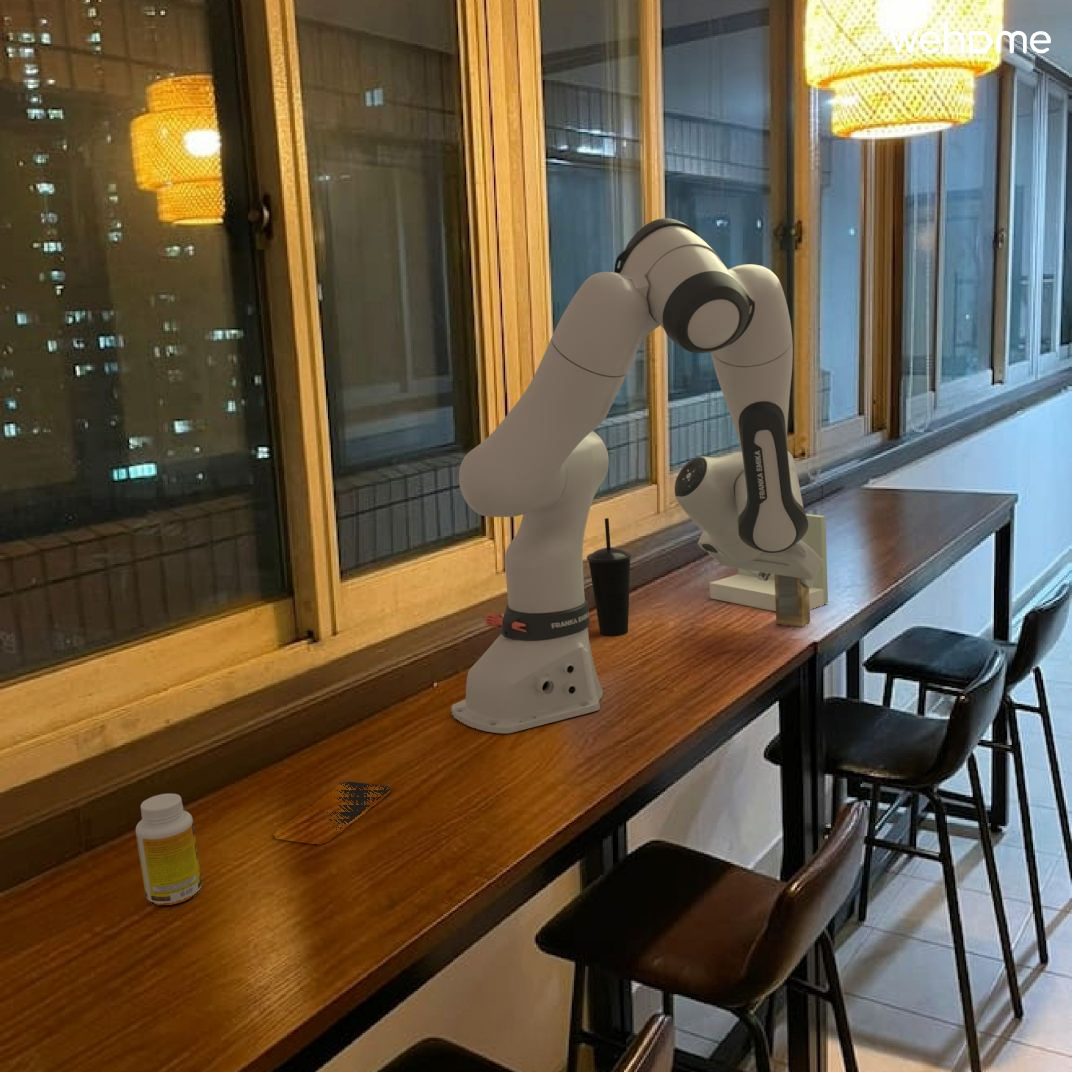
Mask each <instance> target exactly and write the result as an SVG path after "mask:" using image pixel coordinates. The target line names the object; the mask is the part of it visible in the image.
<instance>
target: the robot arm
mask: <svg viewBox="0 0 1072 1072" xmlns="http://www.w3.org/2000/svg"><path fill="white" fill-rule="evenodd" d="M618 266H619V267H618ZM567 305H568V306H567V307H566V309H565V310H564V312H563V314H562V315H561V317H560V319H559V321H558V322H557V326H556V327H555V330H554V331H553V334H552V336H551V338H550V339H549V343H548V345H547V347H546V350H545V352H544V354H543V356H542V358H541V361H540V363H539V364H538V367H537V368H536V371H535V373H534V375H533V378H532V380H531V381H530V383H529V385H528V386H527V388H526V389H525V391H524V393H523V394H522V395H521V396H520V398H519V400H517V402H516V403H515V404H514V406H513V407H512V408H511V409H510V411H509V412H508V414H507V415H505V417H504V418H503V420H502V421H501V422H500V423H499V425H498V426H496V428H495V429H494V430H493V431H492V432H491V433H490V435H488V437H486V438H485V439H484V440H482V442H480V443H479V444H478V445H477V446H475V447H474V448H473V449H471V450H470V451H468V452H467V454H466V455H465V456H464V457H463V459H462V461H461V463H460V467H459V472H458V473H459V474H458V484H459V489H460V492H461V495H462V497H463V499H464V501H465V502H466V504H467V505H468V507H469V508H470V509H471V510H473V511H474V512H475V513H477V514H478V515H479V516H484V517H487V518H488V517H491V518H513V517H515V518H516V517H518V516H522V517H521V520H520V524H519V528H518V530H517V532H516V534H515V536H514V538H513V539H512V540H511V541H510V543H509V545H508V546H507V548H506V550H505V554H504V570H505V580H506V583H505V584H506V591H507V592H506V593H507V594H506V595H507V605H506V606H505V611H504V614H503V616H502V614H500V613H496V612H493V611H491V612H489V613H487V614H486V616H485V620H484V622H485V624H486V625H487V626H488V627H491V628H492V627H494V628H495V629H499V628H500V629H499V633H500V635H498V637H497V638H496V639H495V640H494V641H493V642H492V644H491V645H490V646H489V647H488V648H487V650H486V651H485V652H484V653H483V654H482V655H481V656H480V657H479V659H478V660H477V661H476V662H475V663H474V664H473V666H471V667H470V669H469V670H468V673H467V677H466V683H465V684H466V685H465V699H462V700H460V701H458V702H456V703H453V704H452V705H451V706H450V707H451V712H452V713H451V716H452V715H453V716H454V717H453V716H452V717H453V719H455V718H456V719H457V720H459V721H460V722H459V721H458V722H459V723H461V722H463V723H464V724H463V723H462V724H463V725H465V724H466V725H465V726H468V727H470V728H473V729H475V728H476V730H480V731H483V732H487V733H488V732H489V733H495V734H512V733H515V732H519V731H520V732H521V731H524V730H527V729H531V728H535V727H539V726H544V725H546V724H550V723H555V722H559V721H562V720H567V719H569V718H574V717H578V716H582V715H585V714H588V713H589V714H590V713H593V712H596V711H599V710H600V709H601V704H600V700H601V698H602V697H603V695H604V691H603V688H602V685H601V684H600V680H599V678H598V674H597V671H596V667H595V663H594V659H593V654H592V647H591V642H590V636H589V626H590V623H591V620H590V611H589V610H590V609H589V601H588V599H587V598H585V596H586V595H585V583H584V582H585V579H584V559H583V558H584V556H583V552H584V551H583V549H584V538H585V532H586V527H587V522H588V518H589V514H590V511H591V510H590V509H591V507H592V504H593V501H594V498H595V496H596V493H597V491H598V490H599V488H600V487H601V485H602V484H603V482H604V481H605V480H606V477H607V475H608V472H609V466H610V464H609V463H610V459H609V457H610V456H609V453H608V449H607V447H606V445H605V443H604V441H603V440H602V438H601V436H599V435H598V434H597V433H596V432H595V430H596V429H597V428H598V427H599V426H600V425H601V424H602V423H603V422H604V421H605V419H606V417H608V416H607V415H608V414H609V411H610V410H611V408H612V406H613V404H614V402H615V400H616V397H617V396H618V393H619V391H620V390H621V388H622V385H623V383H624V381H625V380H626V377H627V375H628V373H629V371H630V369H631V367H632V364H633V362H634V360H635V358H636V355H637V353H638V350H639V347H640V346H641V345H642V344H643V341H644V340H645V339H646V338H647V337H648V336H650V334H651V333H652V332H653V331H655V330H656V329H658V328H659V327H662V329H663V330H664V332H665V334H666V335H667V336H668V337H669V339H670V340H671V341H672V342H673V343H674V344H675V345H677V346H679V347H680V348H681V349H683V350H684V351H688V352H689V353H694V354H708V353H710V354H711V359H712V363H713V368H714V371H715V375H716V378H717V381H718V384H719V387H720V390H721V393H722V395H723V398H724V401H725V404H726V407H727V408H728V411H729V416H730V418H731V420H732V423H733V426H734V429H735V432H736V435H737V439H738V442H739V446H740V451H738V452H736V453H733V454H729V455H725V456H719V457H712V456H704V455H703V456H696V457H694V458H692V459H691V460H689V461H688V462H687V463H686V464H685V465H684V466H683V467H682V468H681V469H680V472H678V475H677V477H676V479H675V483H674V497H675V498H676V501H677V503H678V504H679V506H680V507H681V508H682V510H683V511H684V513H685V514H686V515H687V516H688V518H689V519H690V520H691V521H692V522H693V523H694V524H695V525H696V526H697V528H699V529H701V530H702V532H701V535H700V537H699V540H698V542H697V546H698V547H699V548H700V549H702V550H703V551H705V552H707V553H708V554H709V556H711V557H712V558H713V559H714V560H715V561H717V562H718V563H719V564H720V565H723V566H724V567H727V568H732V569H733V568H734V569H738V568H739V569H744V570H746V571H748V572H750V573H751V574H753V575H755V576H756V577H757V578H758V579H759V580H765V581H767V580H768V579H769V578H768V577H770V575H771V574H777V575H783V576H789V577H796V578H801V579H800V581H799V583H800V584H801V585H802V586H803V587H807V588H812V586H813V584H814V583H815V578H816V576H817V574H818V573H819V571H820V569H821V566H822V563H823V561H822V559H821V558H820V557H819V556H818V555H817V554H816V553H815V552H814V551H813V550H812V549H811V548H810V547H809V546H808V545H806V544H805V543H804V542H803V541H801V539H802V537H803V536H804V535H805V534H806V532H807V530H808V520H807V516H806V514H807V513H806V510H805V508H804V502H803V497H802V492H801V487H800V482H799V477H798V472H797V471H798V470H797V467H796V463H795V457H794V456H793V454H792V452H791V451H790V450H789V449H788V421H789V408H790V395H791V386H792V375H793V373H792V372H793V361H794V360H793V359H794V358H793V351H794V349H793V348H794V347H793V346H794V345H793V332H792V323H791V317H790V313H789V308H788V302H787V300H786V296H785V293H784V289H783V287H782V284H781V281H780V279H779V278H778V276H777V275H776V274H775V273H774V272H773V271H772V270H771V269H769V268H767V267H765V266H763V265H759V264H753V263H752V264H750V263H749V264H747V263H746V264H739V265H735V266H733V267H730V268H729V269H728V267H726V265H725V264H724V263H723V261H722V259H721V257H720V256H719V255H718V253H717V252H716V251H715V250H714V249H713V248H712V247H711V246H710V245H709V243H707V242H706V241H705V240H704V239H702V238H701V237H700V234H699V233H698V232H697V231H696V230H695V229H694V228H693V227H691V226H689V225H688V224H686V223H684V222H682V221H680V220H677V219H675V218H674V219H673V218H667V217H664V218H658V219H655V220H652V221H650V222H648V223H647V224H645V225H644V226H642V227H641V228H640V229H639V230H638V231H637V232H636V233H635V234H634V235H633V236H632V237H631V238H630V240H629V241H628V243H627V244H626V247H625V248H624V250H623V251H622V252H620V253H619V254H618V256H617V257H616V259H615V263H614V271H602V272H601V271H600V272H596V273H594V274H592V275H589V277H588V278H586V280H584V282H583V283H582V284H581V286H580V287H579V289H577V291H576V293H575V294H574V296H573V297H572V299H571V300H570V302H569V303H568V304H567ZM456 719H455V720H456ZM457 720H456V721H457Z"/></svg>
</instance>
